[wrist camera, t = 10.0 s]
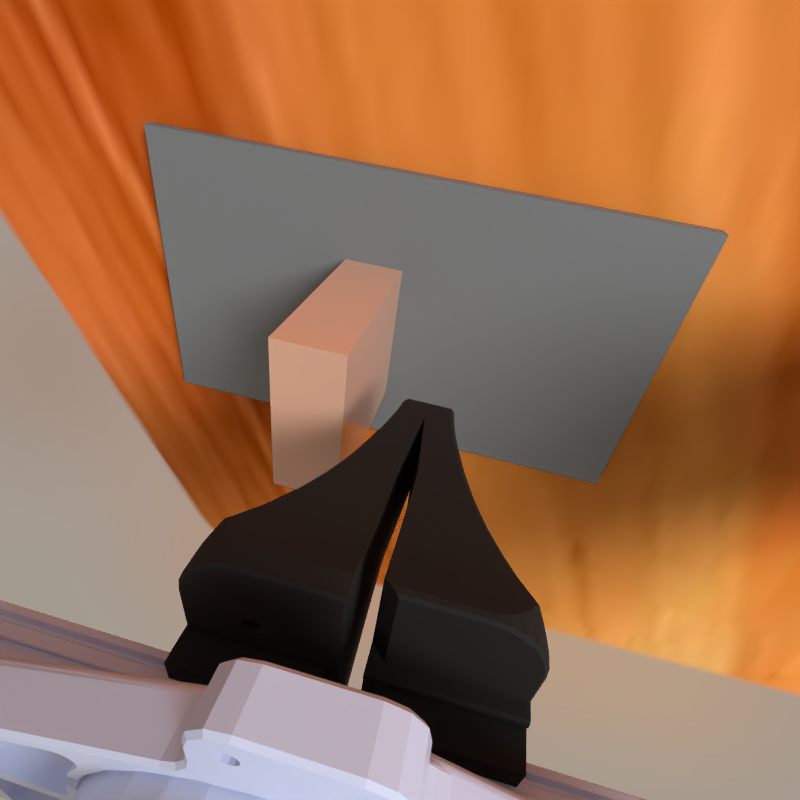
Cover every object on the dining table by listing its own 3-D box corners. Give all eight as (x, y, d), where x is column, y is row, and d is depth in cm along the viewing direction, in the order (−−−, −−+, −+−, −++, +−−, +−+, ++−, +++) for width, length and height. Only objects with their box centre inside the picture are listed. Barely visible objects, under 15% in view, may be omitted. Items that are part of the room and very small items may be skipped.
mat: (722, 230, 14) (728, 235, 13) (595, 475, 20) (596, 484, 19) (153, 122, 16) (143, 123, 15) (191, 375, 21) (185, 381, 21)
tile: (402, 270, 16) (347, 356, 11) (385, 391, 19) (336, 500, 14) (345, 259, 16) (268, 337, 11) (337, 380, 19) (273, 483, 14)
